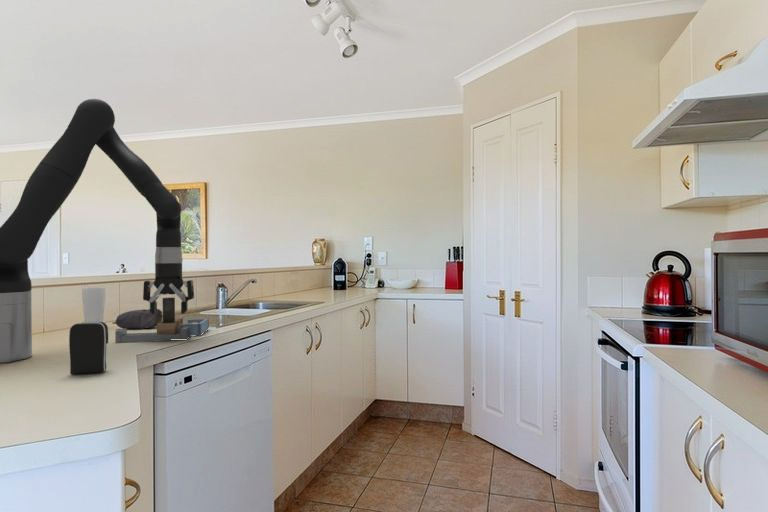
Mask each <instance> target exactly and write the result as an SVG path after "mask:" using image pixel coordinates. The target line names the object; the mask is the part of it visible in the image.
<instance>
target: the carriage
mask: <svg viewBox="0 0 768 512" xmlns="http://www.w3.org/2000/svg"><path fill="white" fill-rule="evenodd" d="M175 300H176V298H175V297H162V316H163V317H162V321H161V322H160V323H158V324H157V327H156V333H157V334H175V333H177V332H179V331H180V324H184V317H178V318H176V301H175Z"/></svg>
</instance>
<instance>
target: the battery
mask: <svg viewBox="0 0 768 512" xmlns="http://www.w3.org/2000/svg"><path fill="white" fill-rule="evenodd" d="M68 336H69V339H68V342H69V344H68V345H69V346H68V347H69V348H68V349H69V360H70V361H69V362H70V363H69V364H70V365H69V367H70V368H69V370H70V371H69V373H70V375H90V374H101V373H104V372H105V371H106V370H107V359H106V357H107V355H106V354H107V344H109V328H108V325H107V324H106V322H104V321H103V322H85V321H83V322H78V323H74V324H73V325H72V326H71V327H70V328H69V335H68Z"/></svg>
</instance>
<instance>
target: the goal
mask: <svg viewBox="0 0 768 512" xmlns="http://www.w3.org/2000/svg"><path fill="white" fill-rule="evenodd" d="M209 323H210V322H209V318H187V323H183V324H180V331H179V332H181V329H182V328H184V327H190V335H201V334H202V333H203V332H205V331H206V330H207V329H208V328H209V327H210V324H209ZM205 333H206V332H205ZM202 335H203V334H202ZM202 335H201V336H202Z"/></svg>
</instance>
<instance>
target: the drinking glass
mask: <svg viewBox="0 0 768 512" xmlns="http://www.w3.org/2000/svg"><path fill="white" fill-rule="evenodd" d="M81 299H82V300H81V301H82V310H83V318H84V322H104V317H105V315H104V314H105V306H106V305H105V304H106V287H105V286H84V287H82V294H81Z"/></svg>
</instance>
